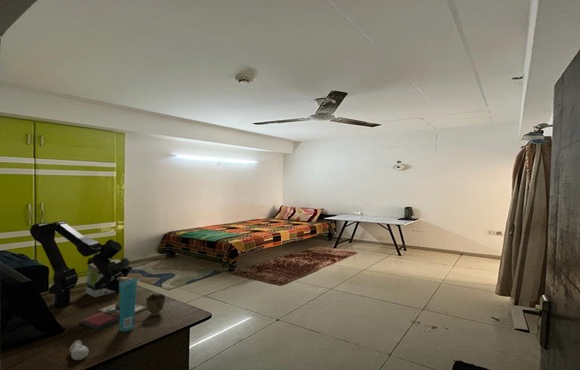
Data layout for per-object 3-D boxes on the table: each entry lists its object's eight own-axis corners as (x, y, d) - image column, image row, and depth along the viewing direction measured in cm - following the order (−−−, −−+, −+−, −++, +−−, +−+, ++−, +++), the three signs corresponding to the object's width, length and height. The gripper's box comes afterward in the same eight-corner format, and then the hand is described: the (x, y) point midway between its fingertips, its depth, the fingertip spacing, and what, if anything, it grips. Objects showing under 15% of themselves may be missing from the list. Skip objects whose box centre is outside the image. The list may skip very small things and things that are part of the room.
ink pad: (79, 323, 119) (79, 319, 119) (101, 314, 127) (101, 311, 127) (97, 329, 115) (97, 326, 115) (119, 320, 123) (119, 316, 123)
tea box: (95, 298, 144) (96, 267, 144) (85, 293, 150) (86, 263, 150) (126, 289, 157) (127, 261, 157) (116, 285, 162) (117, 258, 162)
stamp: (115, 309, 130) (117, 280, 130) (117, 304, 134) (118, 276, 134) (128, 308, 132) (130, 279, 132) (129, 303, 136) (131, 276, 136)
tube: (130, 323, 121) (132, 276, 121) (139, 326, 119) (141, 278, 119) (113, 331, 114) (115, 281, 114) (122, 334, 112) (124, 283, 112)
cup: (157, 319, 125) (157, 300, 125) (141, 317, 127) (142, 298, 127) (167, 312, 132) (168, 294, 132) (153, 310, 134) (153, 292, 134)
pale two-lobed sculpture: (87, 363, 96) (69, 363, 93) (84, 351, 102) (66, 351, 99) (93, 349, 97) (74, 349, 94) (89, 338, 103) (72, 338, 100)
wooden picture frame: (97, 311, 131) (97, 309, 131) (122, 301, 142) (122, 300, 142) (123, 319, 124) (123, 317, 124) (147, 308, 135) (147, 306, 135)
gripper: (102, 258, 124) (126, 287, 123) (129, 248, 143) (150, 273, 142) (83, 275, 125) (107, 304, 124) (113, 264, 143) (134, 289, 142)
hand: (126, 291), depth 133 cm, fingers closed on stamp, 4 cm apart
